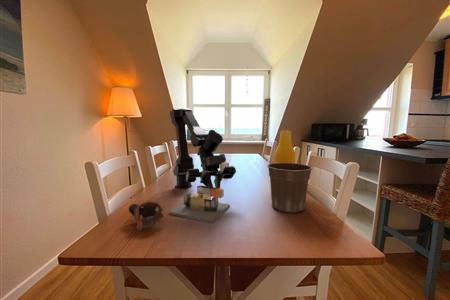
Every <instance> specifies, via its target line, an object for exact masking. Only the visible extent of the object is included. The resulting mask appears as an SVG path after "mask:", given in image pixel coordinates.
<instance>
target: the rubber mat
mask: <svg viewBox="0 0 450 300" xmlns="http://www.w3.org/2000/svg"><path fill="white" fill-rule="evenodd" d="M230 207H231V204H228V203H223V202H219V203H218V208H217V210H216V211H212V210H206V211H205V212H202V211H197V210H191V207H190V206H185V205H184V203H182V204H180V205H178V206H176V207H175V208H173V209H171V210H169V212H168V214H169V215H172V216H176V217H182V218H187V219H191V220H192V219H193V220H197V221H203V222H208V223H211V224H213V223H215V222H216V220H218V219H219V217H221V216H222V215H223V214H224V213H225V212H226V211H227V210H228V209H229V208H230Z"/></svg>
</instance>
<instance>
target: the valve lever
mask: <svg viewBox="0 0 450 300" xmlns="http://www.w3.org/2000/svg"><path fill="white" fill-rule="evenodd" d="M224 191H225V189H224V188H221V187H220V188H216V187H215V186H213V187H212V188H211V187H206V186H205V185H203V184H202V185H197V186H196V193H197V194H204V195H210V196H211V198H213V197H216V198H218V199H222V198H224V196H225V194H224V193H225V192H224Z"/></svg>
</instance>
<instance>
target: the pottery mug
mask: <svg viewBox="0 0 450 300" xmlns="http://www.w3.org/2000/svg"><path fill="white" fill-rule="evenodd" d="M156 209H158V210H156ZM128 211H129V213H130V214H131V215H132V216H133V218H134V220H135V221H136V229H137V230H138V231H142V230H144V229H148V228H150V227H152V226H155V225H156V224H157V223H158V222H160V221H161V219H162V218H165V216H164V213H163V211H164V208H162V207H161V204H159V202H156V201H152V200H148V201H143V202H142V203H140V204H137V203H132V204H130V205H129V207H128Z"/></svg>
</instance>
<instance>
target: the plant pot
mask: <svg viewBox="0 0 450 300" xmlns="http://www.w3.org/2000/svg"><path fill="white" fill-rule="evenodd" d="M267 168H268V176H269V180H270V181H269V182H270V196H271V197H270V198H271V199H270V200H271V207H272V208H273V209H275V210H278V211H279V212H283V213H288V214H293V213H294V214H296V213H300V212H303V211H304V210H305V209H306V208H305V207H306V199H307V194H308V193H307V192H308V187H309V180H310V179H311V173H312V172H311V171H312V170H313V167H312V166H310V165H308V164H302V163H296V162H295V163H274V162H272V163H268V164H267Z"/></svg>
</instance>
